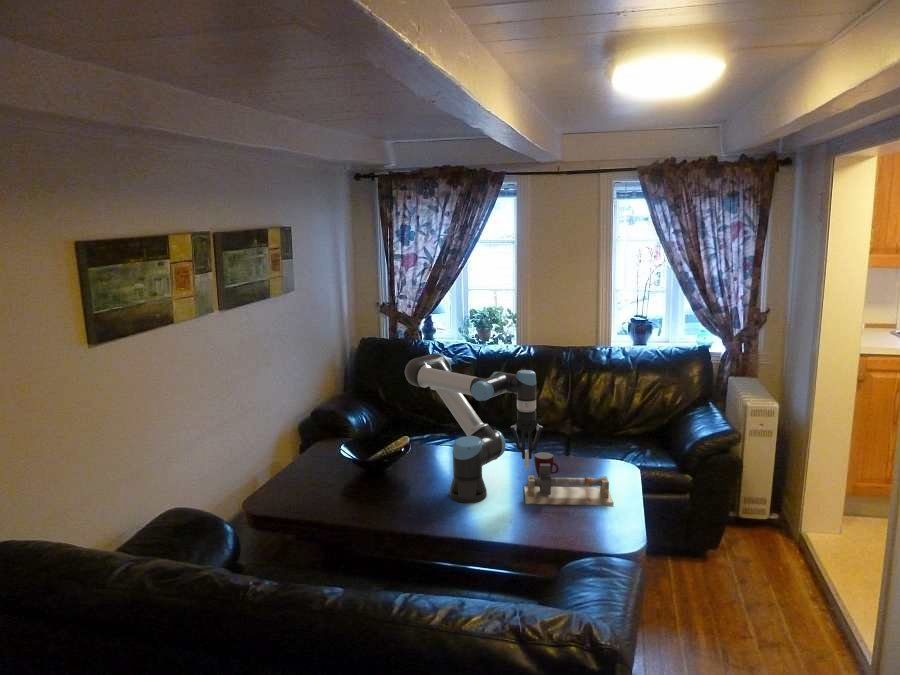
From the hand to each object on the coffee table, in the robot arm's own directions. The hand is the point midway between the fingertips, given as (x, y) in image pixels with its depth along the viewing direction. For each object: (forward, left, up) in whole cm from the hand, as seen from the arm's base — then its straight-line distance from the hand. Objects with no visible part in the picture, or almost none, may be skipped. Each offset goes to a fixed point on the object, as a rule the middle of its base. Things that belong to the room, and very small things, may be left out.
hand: (526, 466), depth 254 cm
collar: (+7, 0, -10) cm, 13 cm away
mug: (+9, +19, -13) cm, 25 cm away
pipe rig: (+16, 0, -13) cm, 21 cm away
